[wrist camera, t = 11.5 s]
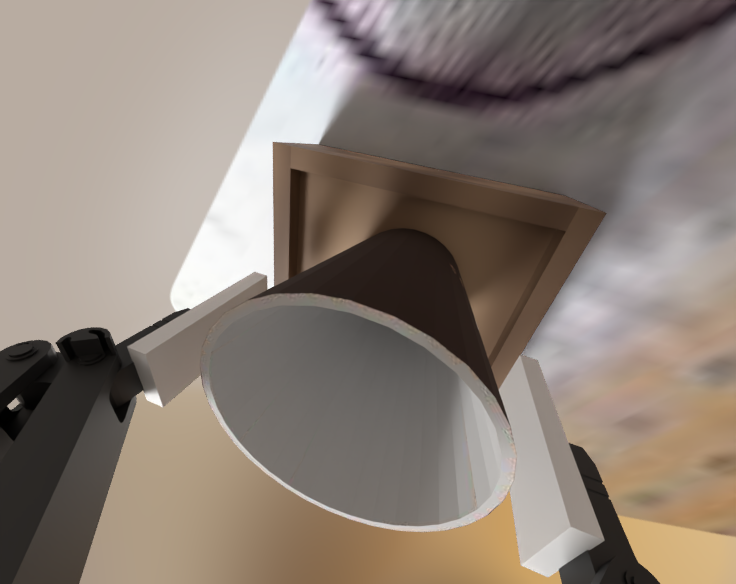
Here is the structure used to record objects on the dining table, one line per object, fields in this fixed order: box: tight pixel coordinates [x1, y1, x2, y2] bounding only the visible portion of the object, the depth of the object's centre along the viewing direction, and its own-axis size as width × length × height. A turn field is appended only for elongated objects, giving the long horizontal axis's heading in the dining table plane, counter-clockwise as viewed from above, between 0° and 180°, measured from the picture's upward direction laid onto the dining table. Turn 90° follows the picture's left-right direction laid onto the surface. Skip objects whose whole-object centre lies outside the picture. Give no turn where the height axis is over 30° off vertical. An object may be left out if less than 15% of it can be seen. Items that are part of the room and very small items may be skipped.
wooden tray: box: [273, 142, 606, 390], centre depth 18 cm, size 15×15×5 cm
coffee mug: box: [200, 228, 517, 532], centre depth 12 cm, size 12×9×10 cm
